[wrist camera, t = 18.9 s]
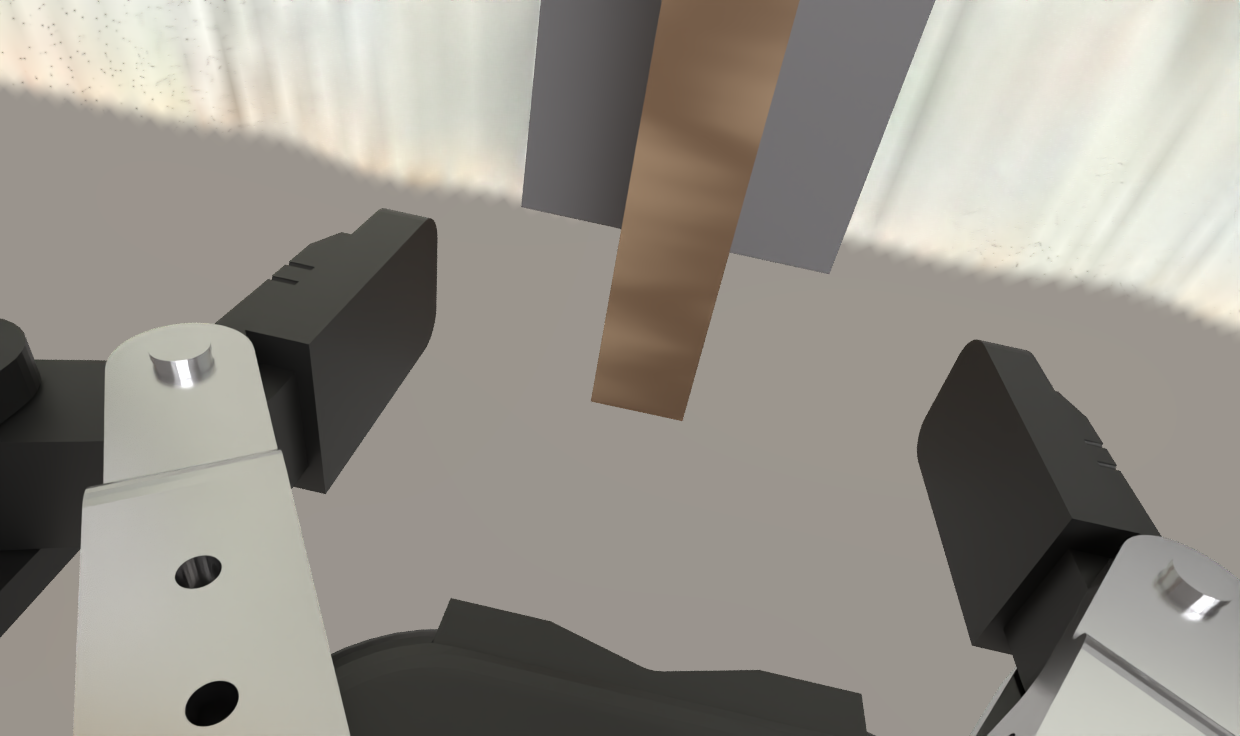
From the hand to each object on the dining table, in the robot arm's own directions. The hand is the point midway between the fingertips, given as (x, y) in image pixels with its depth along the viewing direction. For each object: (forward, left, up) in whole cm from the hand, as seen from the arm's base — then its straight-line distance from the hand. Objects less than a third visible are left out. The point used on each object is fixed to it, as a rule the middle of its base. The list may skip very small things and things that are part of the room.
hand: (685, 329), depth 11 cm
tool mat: (0, 0, -13) cm, 13 cm away
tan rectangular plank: (0, +6, -9) cm, 11 cm away
